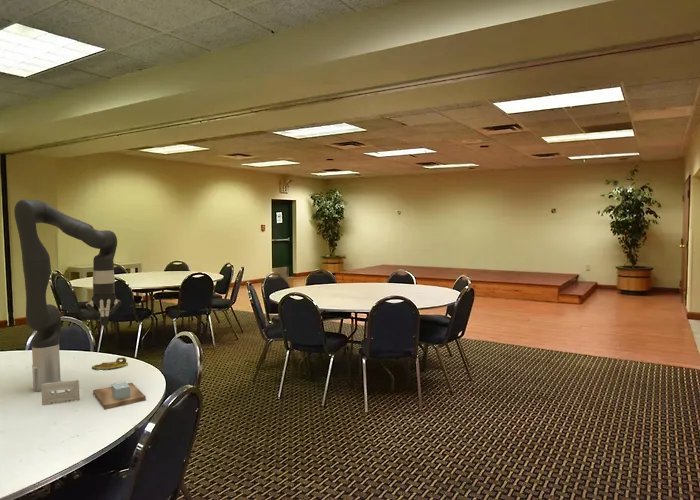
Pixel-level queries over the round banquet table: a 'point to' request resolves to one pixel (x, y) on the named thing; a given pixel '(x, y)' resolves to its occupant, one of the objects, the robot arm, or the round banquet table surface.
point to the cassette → (60, 397)
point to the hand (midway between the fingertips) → (104, 325)
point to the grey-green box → (120, 391)
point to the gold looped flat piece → (111, 365)
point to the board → (109, 401)
